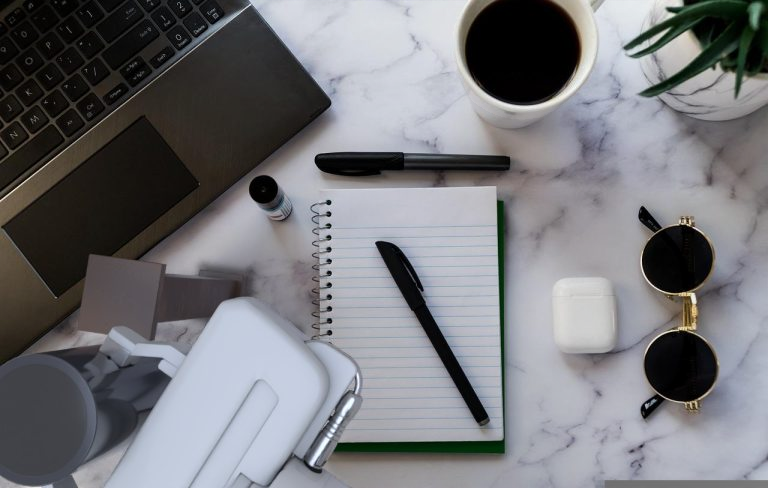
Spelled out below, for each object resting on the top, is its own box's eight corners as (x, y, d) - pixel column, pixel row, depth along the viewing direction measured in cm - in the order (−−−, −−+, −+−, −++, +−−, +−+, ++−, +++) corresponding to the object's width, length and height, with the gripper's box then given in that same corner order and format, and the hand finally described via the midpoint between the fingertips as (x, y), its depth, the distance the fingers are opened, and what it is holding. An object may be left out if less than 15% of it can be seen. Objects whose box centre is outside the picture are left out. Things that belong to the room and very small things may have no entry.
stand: (244, 325, 68) (150, 341, 46) (193, 317, 68) (76, 330, 46) (252, 272, 68) (162, 263, 46) (201, 265, 69) (89, 253, 47)
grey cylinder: (173, 448, 41) (85, 497, 31) (78, 432, 41) (-38, 476, 31) (188, 347, 41) (106, 363, 31) (94, 333, 42) (-16, 345, 32)
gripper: (374, 384, 31) (147, 233, 33) (146, 745, 31) (-71, 574, 32) (385, 369, 37) (195, 243, 39) (196, 668, 37) (12, 529, 39)
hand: (72, 396), depth 36 cm, fingers closed on grey cylinder, 6 cm apart
